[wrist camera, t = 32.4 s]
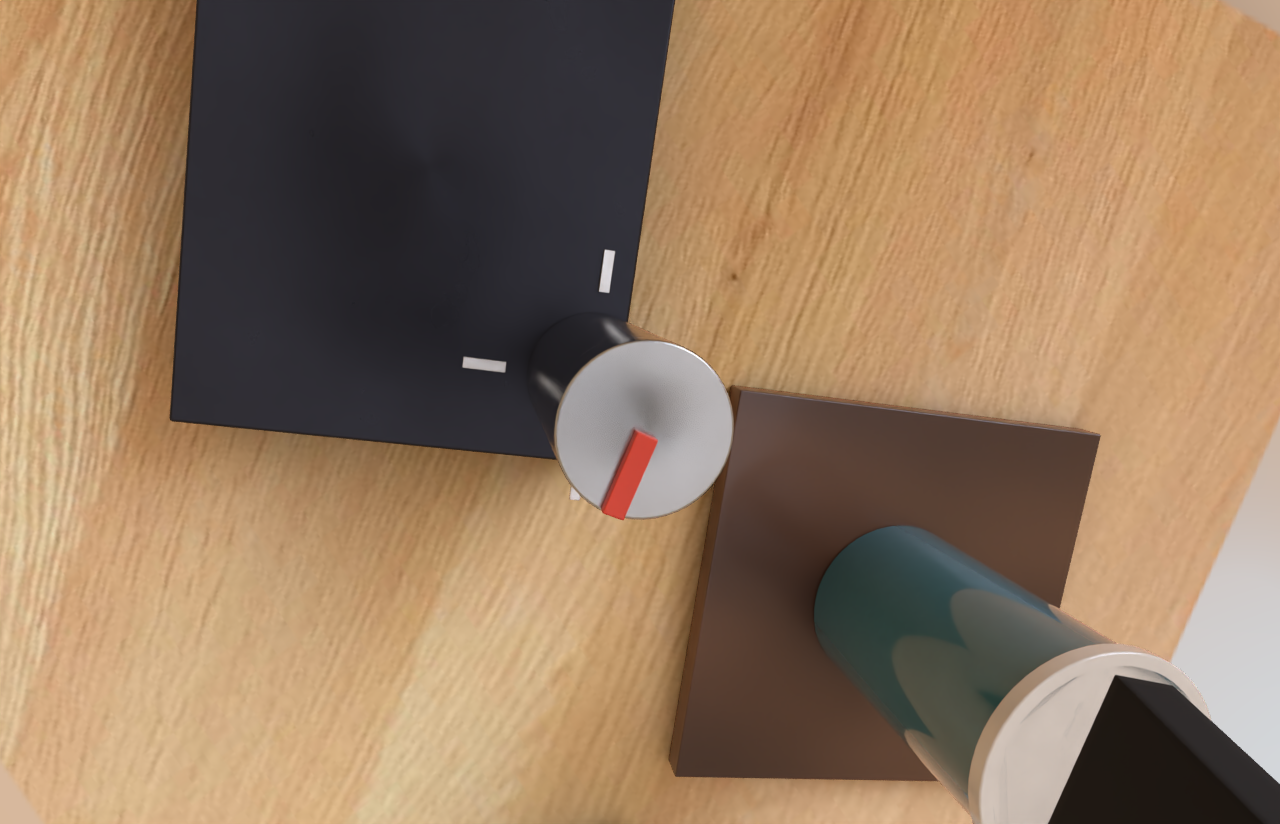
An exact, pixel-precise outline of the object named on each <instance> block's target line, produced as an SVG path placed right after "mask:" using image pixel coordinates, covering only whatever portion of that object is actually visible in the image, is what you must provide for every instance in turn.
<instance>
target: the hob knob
mask: <svg viewBox="0 0 1280 824" xmlns="http://www.w3.org/2000/svg"><path fill="white" fill-rule="evenodd" d="M526 380H527V390H528V394H529V398H530V400H531V403H532V405H533V408H534V410H535V412H536V414H537V416H538V419H539V421H540V423H541V425H542V427H543V430H544V432H545V434H546V436H547V439H548V441H549V443H550V445H551V447H552V450H553V452H554V454H555V456H556V458H557V461H558V463H559V465H560V467H561V469H562V471H563V473H564V475H565V477H566V479H567V480H568V482H569V483H570V485H571V486H572V487H573V489H574V490H575V491H576V492H577V493H578V494H579V495H580V496H581V497H582V498H583V499H585V500H586V501H587V502H588V503H589V504H591V505H593V506H594V507H596V508H597V509H599V510H601V511H602V512H603V513H604V514H606V515H609V516H612V517H615V518H617V519H620V520H624V518H627V519H643V520H644V519H653V518H659V517H663V516H667V515H670V514H672V513H675V512H678V511H680V510H681V509H683V508H685V507H687V506H689V505H690V504H692V503H693V502H695V501H696V500H698V499H699V498H700V497H701V496H702V495H703V494H704V493H705V492H706V491H707V490H708V489H709V488H710V487H711V486H712V485H713V484H714V482H715V481H716V479H717V478H718V476H719V475H720V474H721V472H722V470H723V468H724V466H725V464H726V462H727V459H728V456H729V454H730V450H731V446H732V442H733V434H734V417H733V410H732V405H731V401H730V398H729V395H728V393H727V390H726V388H725V386H724V384H723V382H722V381H721V379H720V377H719V376H718V374H717V373H716V372H715V371H714V369H713V368H712V367H711V366H710V365H709V364H708V363H707V362H706V361H705V360H704V359H703V358H701V357H700V356H698V355H697V354H696V353H694V352H693V351H691V350H689V349H687V348H685V347H683V346H681V345H678V344H676V343H674V342H671V341H669V340H667V339H665V338H662V337H660V336H658V335H655V334H653V333H651V332H649V331H646V330H644V329H642V328H639V327H637V326H635V325H632V324H630V323H628V322H626V321H623V320H621V319H619V318H616V317H613V316H611V315H607V314H602V313H582V314H577V315H573V316H570V317H567V318H565V319H563V320H561V321H559V322H558V323H556V324H555V325H553V326H552V327H551V328H550V329H548V330H547V331H546V332H545V333H544V334H543V336H542V337H541V338H540V339H539V341H538V342H537V344H536V345H535V347H534V349H533V351H532V353H531V356H530V359H529V362H528V367H527V376H526Z"/></svg>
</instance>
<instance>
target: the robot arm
mask: <svg viewBox="0 0 1280 824" xmlns="http://www.w3.org/2000/svg"><path fill="white" fill-rule="evenodd" d="M1048 824H1280V784H1279V783H1278V782H1277V781H1276V780H1274V779H1273V778H1272V777H1271V776H1270V775H1269V774H1268V773H1267V772H1266V771H1265V770H1264V769H1263V768H1262V767H1260V766H1259V765H1258V764H1257V763H1256V762H1255V761H1254V760H1253V759H1252V758H1251V757H1250V756H1248V754H1246V753H1245V752H1244V751H1243V750H1242V749H1241V748H1240V747H1239V746H1237V744H1236V743H1235V742H1233V741H1232V740H1231V739H1230V738H1229V737H1228V736H1227V735H1226V734H1225V733H1224V732H1223V731H1221V730H1220V729H1219V728H1218V727H1217V726H1216V725H1215V724H1214V723H1213V722H1212V721H1211V720H1210V719H1209V718H1208V717H1206V716H1205V715H1204V714H1203V713H1202V712H1201V711H1200V710H1199V709H1198V708H1197V707H1196V706H1195V705H1193V704H1192V703H1191V702H1190V701H1189V700H1188V699H1187V698H1186V697H1185V696H1184V695H1183V694H1182V693H1180V692H1179V691H1178V690H1177V689H1176V688H1175V687H1174V686H1173V685H1168V684H1163V683H1157V682H1152V681H1146V680H1141V679H1136V678H1130V677H1125V676H1120V675H1115V676H1114V678H1113V680H1112V682H1111V685H1110V687H1109V689H1108V691H1107V694H1106V696H1105V698H1104V700H1103V702H1102V705H1101V707H1100V709H1099V711H1098V714H1097V716H1096V718H1095V720H1094V722H1093V725H1092V727H1091V729H1090V731H1089V734H1088V736H1087V738H1086V740H1085V742H1084V745H1083V747H1082V749H1081V751H1080V754H1079V756H1078V758H1077V760H1076V762H1075V765H1074V767H1073V769H1072V771H1071V774H1070V776H1069V778H1068V780H1067V782H1066V785H1065V787H1064V789H1063V791H1062V793H1061V796H1060V798H1059V800H1058V802H1057V805H1056V807H1055V809H1054V811H1053V813H1052V816H1051V818H1050V820H1049V822H1048Z"/></svg>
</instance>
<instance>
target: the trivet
mask: <svg viewBox="0 0 1280 824" xmlns="http://www.w3.org/2000/svg"><path fill="white" fill-rule="evenodd" d="M730 401H731V405H732V410H733V417H734V434H733V442H732V446H731V450H730V454H729V456H728V459H727V462H726V464H725V466H724V468H723V470H722V472H721V474H720V475H719V476H718V478H717V479H716V481H715V487H714V493H713V499H712V505H711V511H710V517H709V523H708V529H707V535H706V541H705V547H704V553H703V559H702V565H701V570H700V576H699V582H698V588H697V594H696V600H695V606H694V612H693V618H692V624H691V630H690V636H689V642H688V648H687V654H686V660H685V666H684V672H683V678H682V684H681V690H680V696H679V702H678V708H677V714H676V720H675V726H674V732H673V738H672V743H671V749H670V755H669V762H670V764H671V767H672V769H673V772H674V774H675V776H676V777H727V778H785V779H843V780H902V781H938V780H937V779H936V778H935V776H934V775H933V774H932V773H931V772H930V771H929V770H928V769H927V768H926V766H925V765H924V764H923V763H922V762H921V761H920V760H919V759H918V757H917V756H916V755H915V754H914V753H913V752H912V751H911V750H910V749H909V747H908V746H907V745H906V744H905V743H904V742H903V741H902V740H901V739H900V737H899V736H898V735H897V734H896V733H895V732H894V731H893V730H892V729H891V727H890V726H889V725H888V724H887V723H886V722H885V721H884V720H883V719H882V717H881V716H880V715H879V714H878V713H877V712H876V711H875V710H874V708H873V707H872V706H871V705H870V704H869V703H868V702H867V701H866V700H865V698H864V697H863V696H862V695H861V694H860V693H859V692H858V691H857V690H856V688H855V687H854V686H853V685H852V684H851V683H850V682H849V681H848V680H847V678H846V677H845V676H844V675H843V674H842V673H841V672H840V671H839V670H838V668H837V667H836V666H835V665H834V664H833V663H832V662H831V661H830V659H829V658H828V657H827V656H826V654H825V653H824V651H823V649H822V647H821V645H820V643H819V641H818V638H817V634H816V631H815V624H814V606H815V599H816V595H817V591H818V587H819V585H820V582H821V580H822V578H823V576H824V574H825V572H826V570H827V569H828V567H829V566H830V564H831V563H832V561H833V560H834V559H835V558H836V557H837V555H838V554H839V553H840V552H841V551H842V550H843V549H844V548H846V547H847V546H848V545H849V544H850V543H852V542H853V541H855V540H856V539H857V538H859V537H861V536H863V535H865V534H867V533H869V532H872V531H874V530H877V529H880V528H884V527H889V526H913V527H918V528H922V529H925V530H928V531H930V532H932V533H934V534H936V535H937V536H939V537H941V538H942V539H944V540H946V541H947V542H949V543H951V544H952V545H954V546H956V547H957V548H959V549H961V550H962V551H964V552H966V553H967V554H969V555H971V556H972V557H974V558H976V559H977V560H979V561H981V562H982V563H984V564H986V565H987V566H989V567H991V568H992V569H994V570H996V571H997V572H999V573H1001V574H1002V575H1004V576H1006V577H1007V578H1009V579H1011V580H1012V581H1014V582H1016V583H1017V584H1019V585H1021V586H1022V587H1024V588H1026V589H1027V590H1029V591H1031V592H1032V593H1034V594H1036V595H1037V596H1039V597H1041V598H1042V599H1044V600H1046V601H1047V602H1049V603H1051V604H1052V605H1054V606H1056V607H1057V608H1059V609H1060V604H1061V600H1062V596H1063V592H1064V587H1065V583H1066V579H1067V575H1068V571H1069V566H1070V562H1071V558H1072V554H1073V550H1074V545H1075V541H1076V537H1077V533H1078V529H1079V524H1080V520H1081V516H1082V512H1083V508H1084V503H1085V499H1086V495H1087V491H1088V487H1089V482H1090V478H1091V474H1092V470H1093V465H1094V461H1095V457H1096V453H1097V449H1098V444H1099V440H1100V434H1097V433H1093V432H1090V431H1086V430H1083V429H1077V428H1069V427H1061V426H1053V425H1045V424H1037V423H1029V422H1021V421H1013V420H1005V419H997V418H989V417H981V416H973V415H966V414H958V413H950V412H942V411H934V410H926V409H918V408H910V407H902V406H894V405H886V404H878V403H870V402H862V401H854V400H846V399H838V398H830V397H822V396H814V395H806V394H798V393H790V392H782V391H774V390H766V389H758V388H750V387H743V386H735V385H732V386H731V392H730Z"/></svg>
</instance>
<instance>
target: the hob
mask: <svg viewBox="0 0 1280 824" xmlns="http://www.w3.org/2000/svg"><path fill="white" fill-rule="evenodd" d="M674 5H675V0H197V3H196V18H195V34H194V49H193V65H192V80H191V96H190V111H189V127H188V142H187V157H186V173H185V188H184V204H183V219H182V235H181V250H180V266H179V281H178V297H177V312H176V327H175V343H174V358H173V374H172V389H171V405H170V420H171V421H174V422H184V423H194V424H204V425H214V426H224V427H234V428H244V429H254V430H264V431H274V432H283V433H293V434H303V435H313V436H323V437H333V438H343V439H353V440H363V441H373V442H383V443H393V444H403V445H413V446H423V447H433V448H443V449H453V450H463V451H473V452H483V453H493V454H503V455H513V456H523V457H533V458H543V459H553V460H557V458H556V456H555V454H554V452H553V450H552V447H551V445H550V443H549V441H548V439H547V436H546V434H545V432H544V430H543V427H542V425H541V423H540V421H539V419H538V416H537V414H536V412H535V410H534V408H533V405H532V403H531V400H530V398H529V394H528V390H527V380H526V376H527V367H528V362H529V359H530V356H531V353H532V351H533V349H534V347H535V345H536V344H537V342H538V341H539V339H540V338H541V337H542V336H543V334H544V333H545V332H546V331H547V330H548V329H550V328H551V327H552V326H553V325H555V324H556V323H558V322H559V321H561V320H563V319H565V318H567V317H570V316H573V315H577V314H582V313H602V314H607V315H611V316H613V317H616V318H619V319H621V320H623V321H626V322H628V318H629V311H630V304H631V298H632V291H633V284H634V277H635V270H636V263H637V257H638V250H639V243H640V236H641V229H642V223H643V216H644V209H645V202H646V195H647V189H648V182H649V175H650V168H651V161H652V155H653V148H654V141H655V134H656V127H657V120H658V114H659V107H660V100H661V93H662V86H663V80H664V73H665V66H666V59H667V52H668V46H669V39H670V32H671V25H672V18H673V12H674ZM569 499H570V500H580V495H579V494H578V493H577V492H576V491H575V490H574V489H573V487H572V486H571V487H570V495H569Z"/></svg>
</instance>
